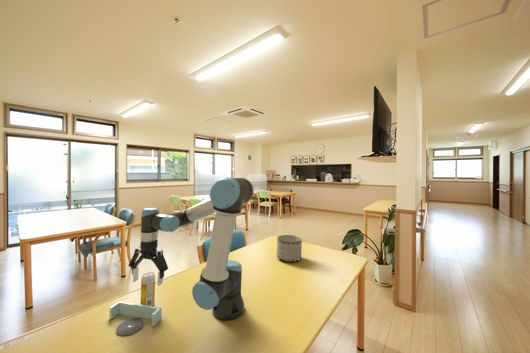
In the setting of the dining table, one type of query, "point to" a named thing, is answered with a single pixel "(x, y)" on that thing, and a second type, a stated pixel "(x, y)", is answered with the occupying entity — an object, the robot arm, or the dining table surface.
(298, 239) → the planter
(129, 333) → the coaster
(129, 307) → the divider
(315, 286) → the dining table surface
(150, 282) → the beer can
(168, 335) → the dining table surface
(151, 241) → the robot arm
